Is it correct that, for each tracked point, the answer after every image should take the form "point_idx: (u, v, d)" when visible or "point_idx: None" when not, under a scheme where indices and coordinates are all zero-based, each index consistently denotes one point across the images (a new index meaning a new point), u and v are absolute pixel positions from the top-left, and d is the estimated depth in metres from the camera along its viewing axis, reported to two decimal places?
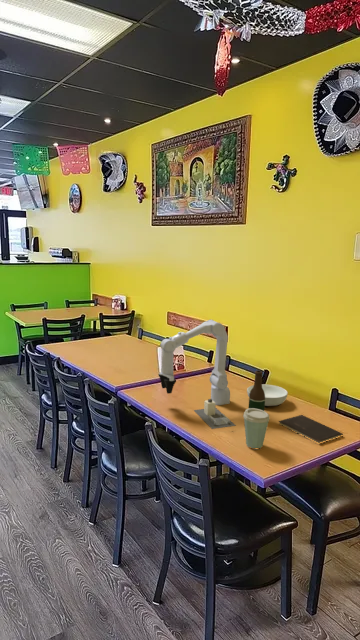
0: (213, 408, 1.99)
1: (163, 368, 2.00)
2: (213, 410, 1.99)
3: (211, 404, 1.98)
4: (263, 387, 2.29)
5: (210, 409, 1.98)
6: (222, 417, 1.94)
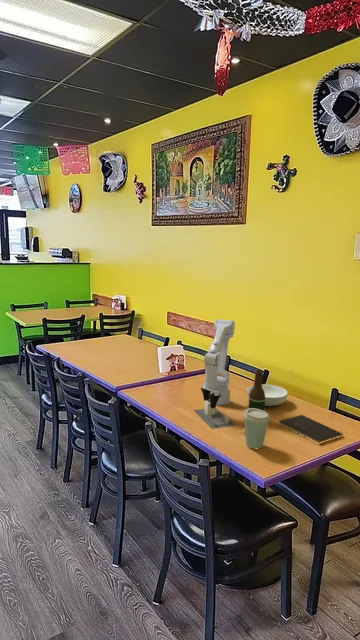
0: (213, 408, 1.99)
1: (207, 382, 1.96)
2: (213, 410, 1.99)
3: None
4: (263, 387, 2.29)
5: (210, 409, 1.98)
6: (222, 417, 1.94)
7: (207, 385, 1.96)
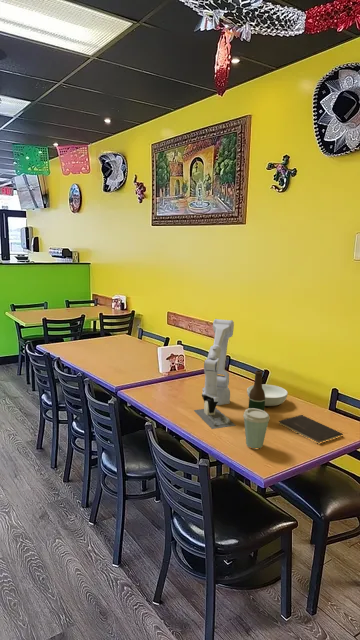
0: None
1: (207, 388, 1.96)
2: None
3: None
4: (263, 387, 2.29)
5: None
6: (222, 417, 1.94)
7: (207, 391, 1.97)
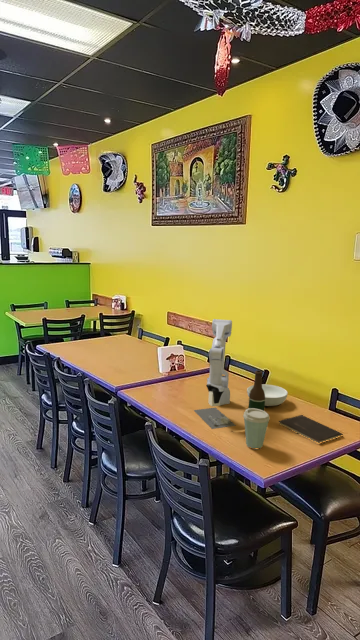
0: None
1: (212, 378, 1.91)
2: None
3: None
4: (263, 387, 2.29)
5: None
6: (222, 417, 1.94)
7: (212, 381, 1.91)
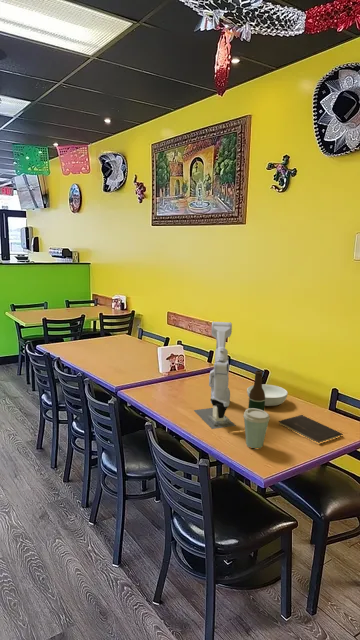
0: None
1: (216, 392, 1.87)
2: None
3: None
4: (263, 387, 2.29)
5: None
6: None
7: (216, 395, 1.87)
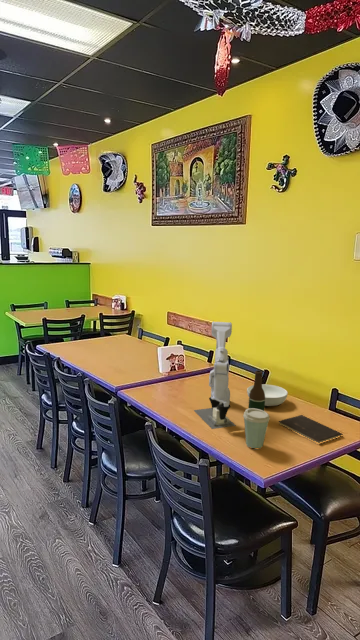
0: None
1: (216, 392, 1.87)
2: None
3: None
4: (263, 387, 2.29)
5: (219, 417, 1.89)
6: None
7: (216, 395, 1.87)
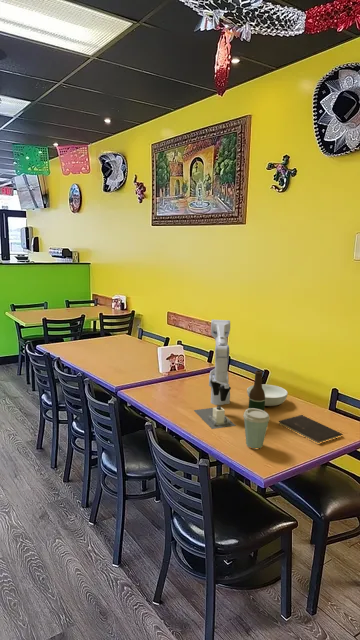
0: (222, 416, 1.90)
1: (217, 375, 1.94)
2: (222, 418, 1.90)
3: (220, 411, 1.89)
4: (263, 387, 2.29)
5: (219, 417, 1.89)
6: None
7: (217, 378, 1.95)
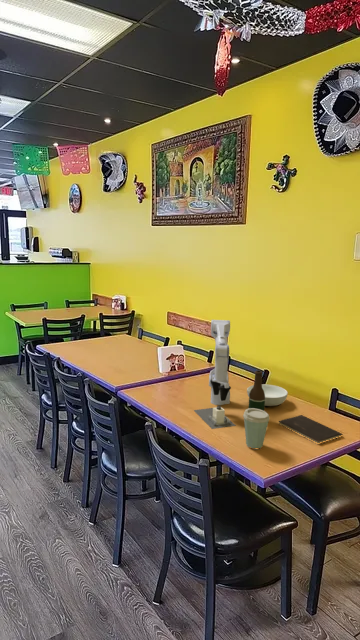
0: (222, 416, 1.90)
1: (217, 375, 1.95)
2: (222, 418, 1.90)
3: (220, 411, 1.89)
4: (263, 387, 2.29)
5: (219, 417, 1.89)
6: None
7: (217, 377, 1.95)
